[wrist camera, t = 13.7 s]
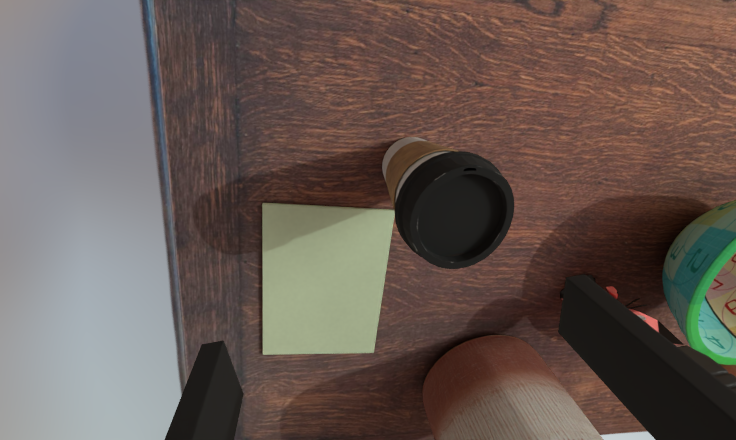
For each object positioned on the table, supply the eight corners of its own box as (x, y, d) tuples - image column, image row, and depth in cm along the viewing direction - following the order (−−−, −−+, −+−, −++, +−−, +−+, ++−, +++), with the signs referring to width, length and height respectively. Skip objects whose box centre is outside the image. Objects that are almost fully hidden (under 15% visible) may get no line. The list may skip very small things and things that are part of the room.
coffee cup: (451, 122, 36) (534, 157, 23) (445, 200, 40) (514, 271, 26) (369, 125, 35) (404, 163, 22) (370, 205, 39) (401, 281, 25)
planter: (550, 326, 50) (646, 432, 35) (521, 416, 57) (592, 535, 42) (427, 332, 47) (477, 449, 33) (413, 425, 54) (448, 556, 40)
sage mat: (262, 202, 37) (262, 203, 37) (394, 209, 39) (395, 210, 39) (263, 352, 45) (262, 354, 44) (373, 350, 47) (373, 353, 47)
